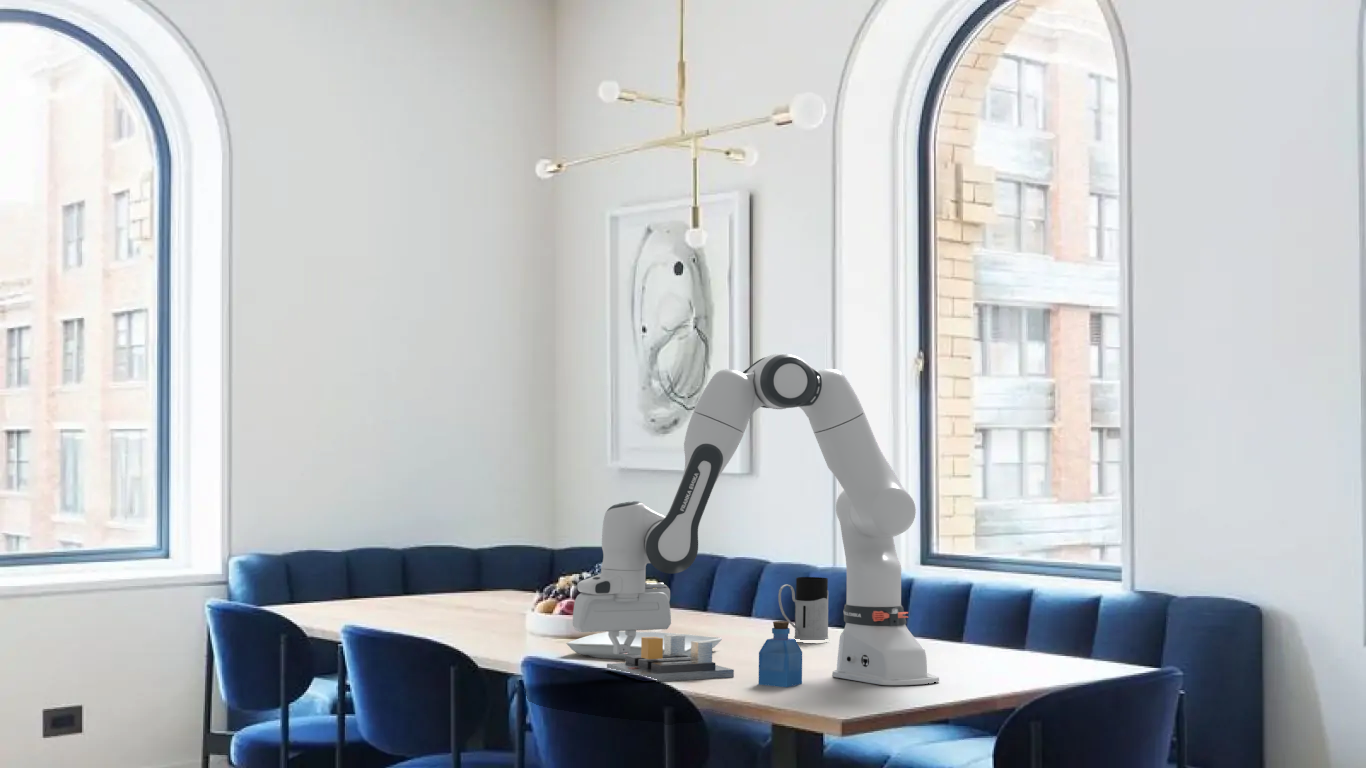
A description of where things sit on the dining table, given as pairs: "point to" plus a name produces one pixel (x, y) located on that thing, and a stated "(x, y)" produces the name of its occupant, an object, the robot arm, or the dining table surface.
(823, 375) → the robot arm
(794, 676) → the blue glass bottle
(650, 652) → the handle
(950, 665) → the dining table surface
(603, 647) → the square plate
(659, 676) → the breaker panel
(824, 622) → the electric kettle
